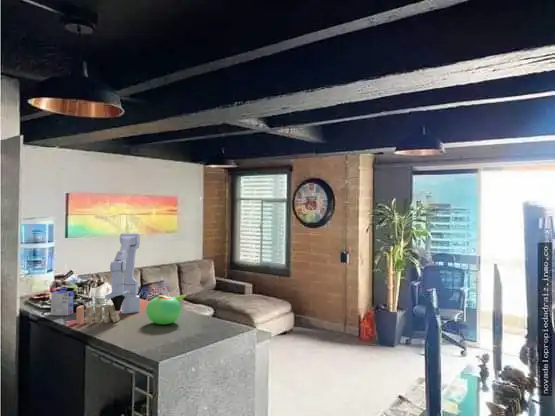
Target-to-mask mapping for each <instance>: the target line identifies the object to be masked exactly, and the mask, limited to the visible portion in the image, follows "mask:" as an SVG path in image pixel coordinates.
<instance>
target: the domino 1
mask: <svg viewBox="0 0 555 416" xmlns="http://www.w3.org/2000/svg"><path fill="white" fill-rule="evenodd" d="M75 319H76V322H75V323H76V325H78V324H82V323H83V322H84V321H85V305H79V306H77V307H76V318H75Z"/></svg>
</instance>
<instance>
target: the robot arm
mask: <svg viewBox="0 0 555 416" xmlns="http://www.w3.org/2000/svg"><path fill="white" fill-rule="evenodd" d="M119 242H120V248H119V250H118V251H117V252H116V255H115V257H114V259H113V261H112V262H110V266H109V267H110V268H109V270H110V276H111V292H110V293H108V294H105V295H104V299H105V300H110V301H111V302H112V305H114V307H115V311H117V312H120V314H122V315H123V314H132V313H134V314H135V313H140V311H141V310H140V309H141V307H140V306H141V305H140V304H141V303H140V295H139V281H138V280H136V279H135V277H134V275H135V264H136V262H135V261H136V252H137V249H139V248H140V242H141V236H140V233H138V232H137V233H135V232H134V233H133V232H132V233H130V232H129V233H125V232H122V233H121V234H120V235H119Z"/></svg>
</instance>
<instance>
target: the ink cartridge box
mask: <svg viewBox="0 0 555 416" xmlns="http://www.w3.org/2000/svg"><path fill="white" fill-rule="evenodd" d="M67 290H68V287H66V286H65V287H63V286H61V287H60V288H59V291H54V292H52V293H51V295H50V301H51V302H50V316H70V315H72V314H74V291H73V290H72V291H67Z"/></svg>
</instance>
